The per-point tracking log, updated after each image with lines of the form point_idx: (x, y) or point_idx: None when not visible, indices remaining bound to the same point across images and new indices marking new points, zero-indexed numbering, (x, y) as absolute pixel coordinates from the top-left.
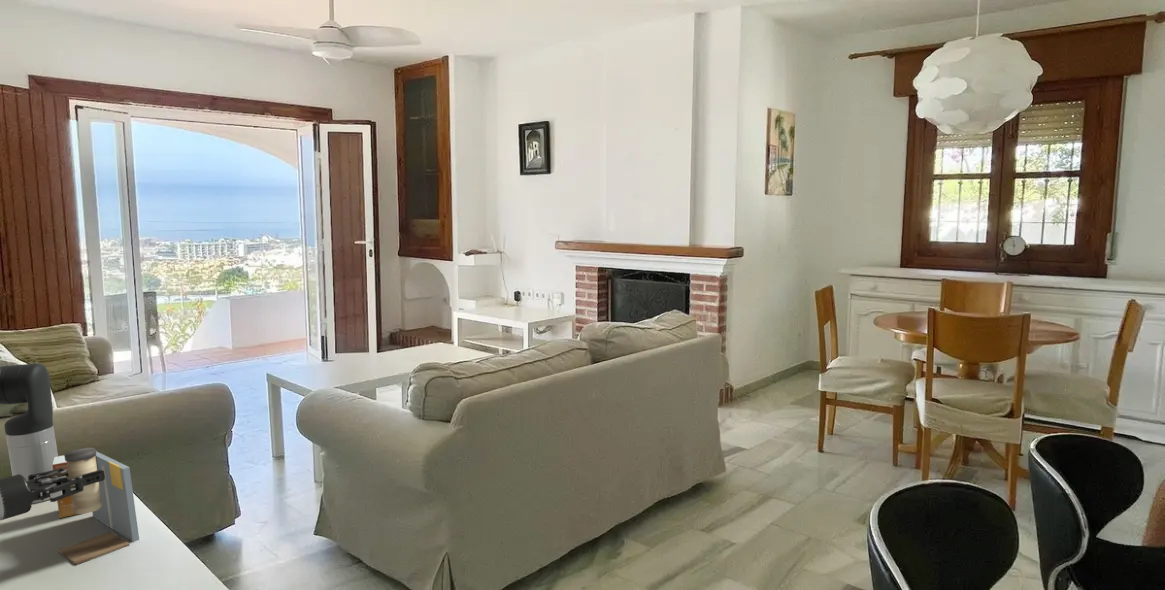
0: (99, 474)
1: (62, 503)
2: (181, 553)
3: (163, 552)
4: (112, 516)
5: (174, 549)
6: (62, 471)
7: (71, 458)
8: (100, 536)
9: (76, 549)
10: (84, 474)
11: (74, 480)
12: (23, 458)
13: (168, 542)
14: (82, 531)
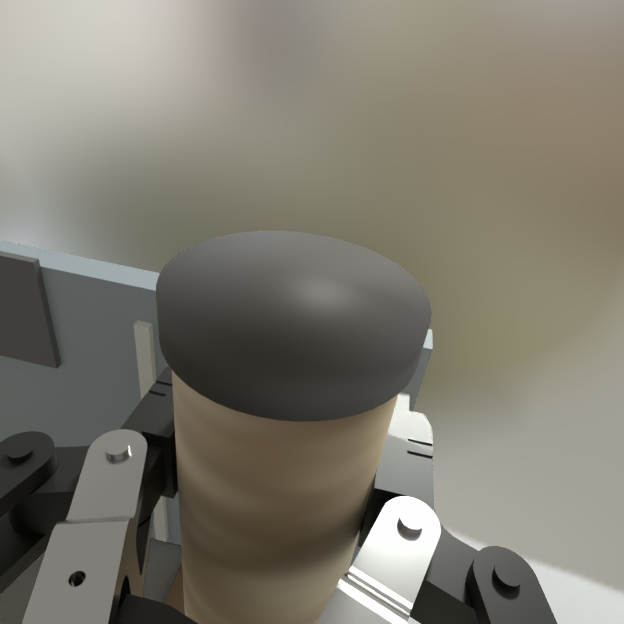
0: (431, 431)
1: None
2: (614, 595)
3: (554, 613)
4: (174, 508)
5: (558, 582)
6: (93, 482)
7: (365, 385)
8: (182, 611)
9: None
10: (386, 474)
11: (516, 614)
12: None
13: (477, 550)
14: (28, 596)
